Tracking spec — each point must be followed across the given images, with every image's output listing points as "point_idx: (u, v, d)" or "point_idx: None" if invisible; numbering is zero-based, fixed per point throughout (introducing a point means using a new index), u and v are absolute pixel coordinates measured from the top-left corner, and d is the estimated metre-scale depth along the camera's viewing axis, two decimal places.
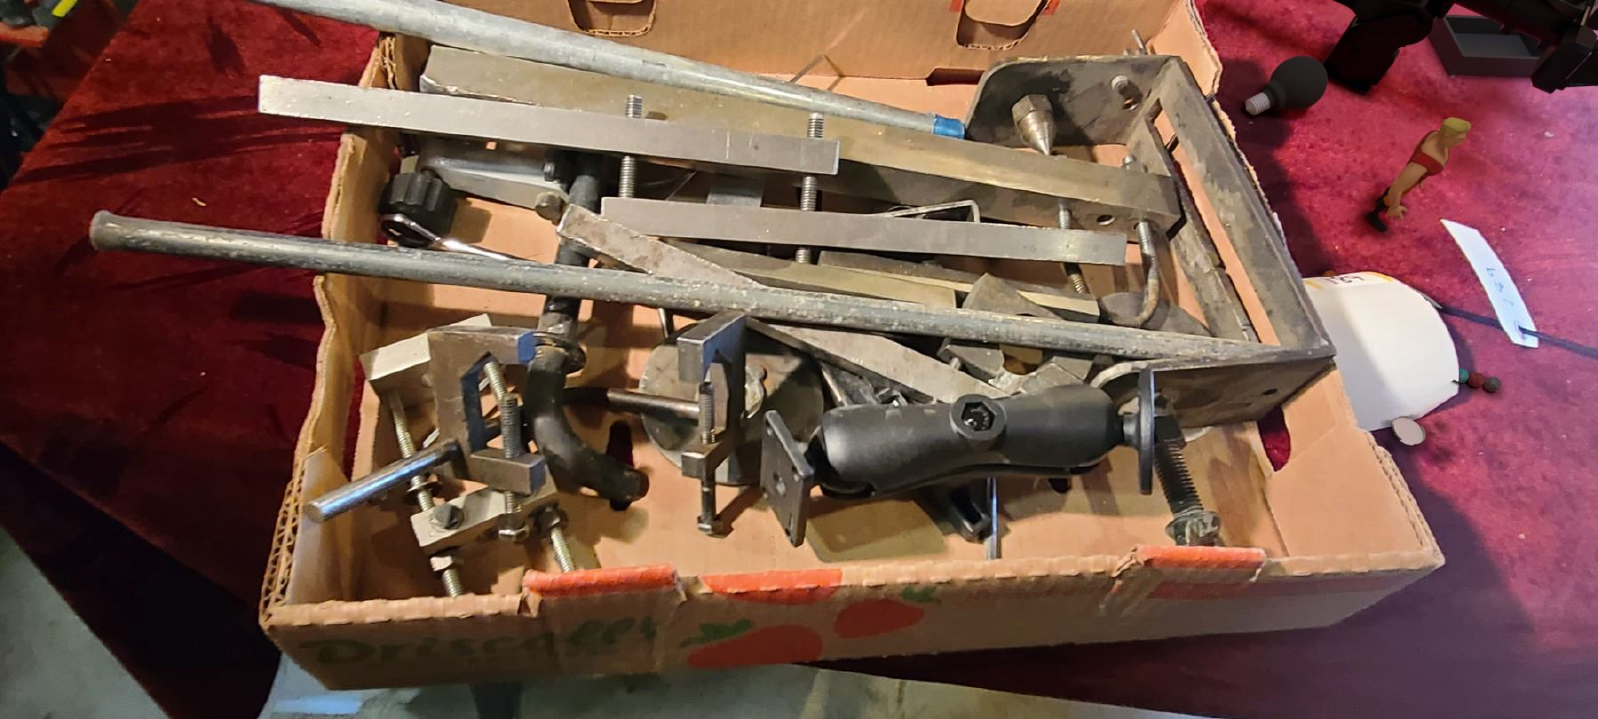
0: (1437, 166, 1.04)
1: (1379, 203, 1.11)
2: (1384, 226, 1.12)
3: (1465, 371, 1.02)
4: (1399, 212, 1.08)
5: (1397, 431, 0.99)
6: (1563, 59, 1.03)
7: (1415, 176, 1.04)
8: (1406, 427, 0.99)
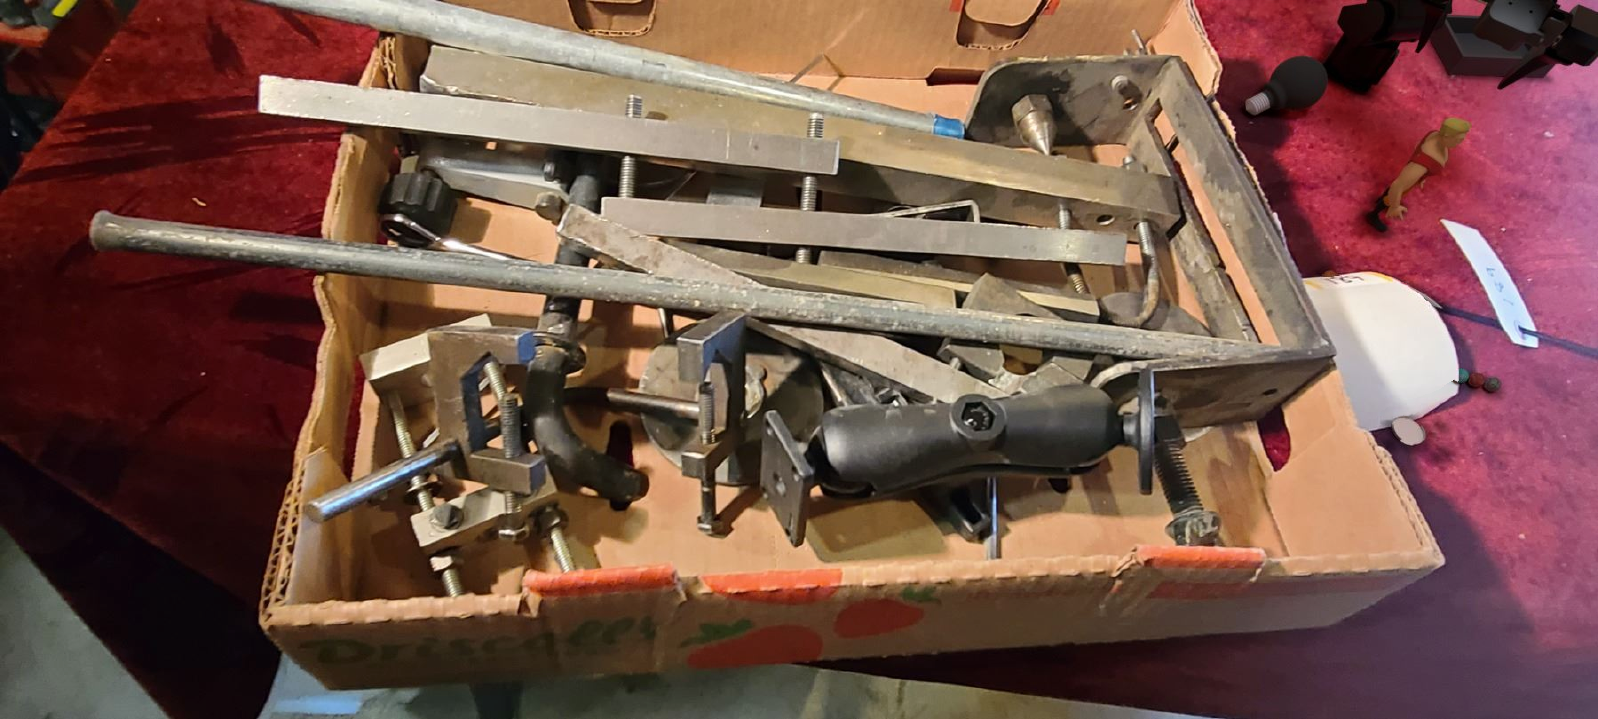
0: (1437, 166, 1.04)
1: (1379, 203, 1.11)
2: (1384, 226, 1.12)
3: (1465, 371, 1.02)
4: (1399, 212, 1.08)
5: (1397, 431, 0.99)
6: None
7: (1415, 176, 1.04)
8: (1406, 427, 0.99)
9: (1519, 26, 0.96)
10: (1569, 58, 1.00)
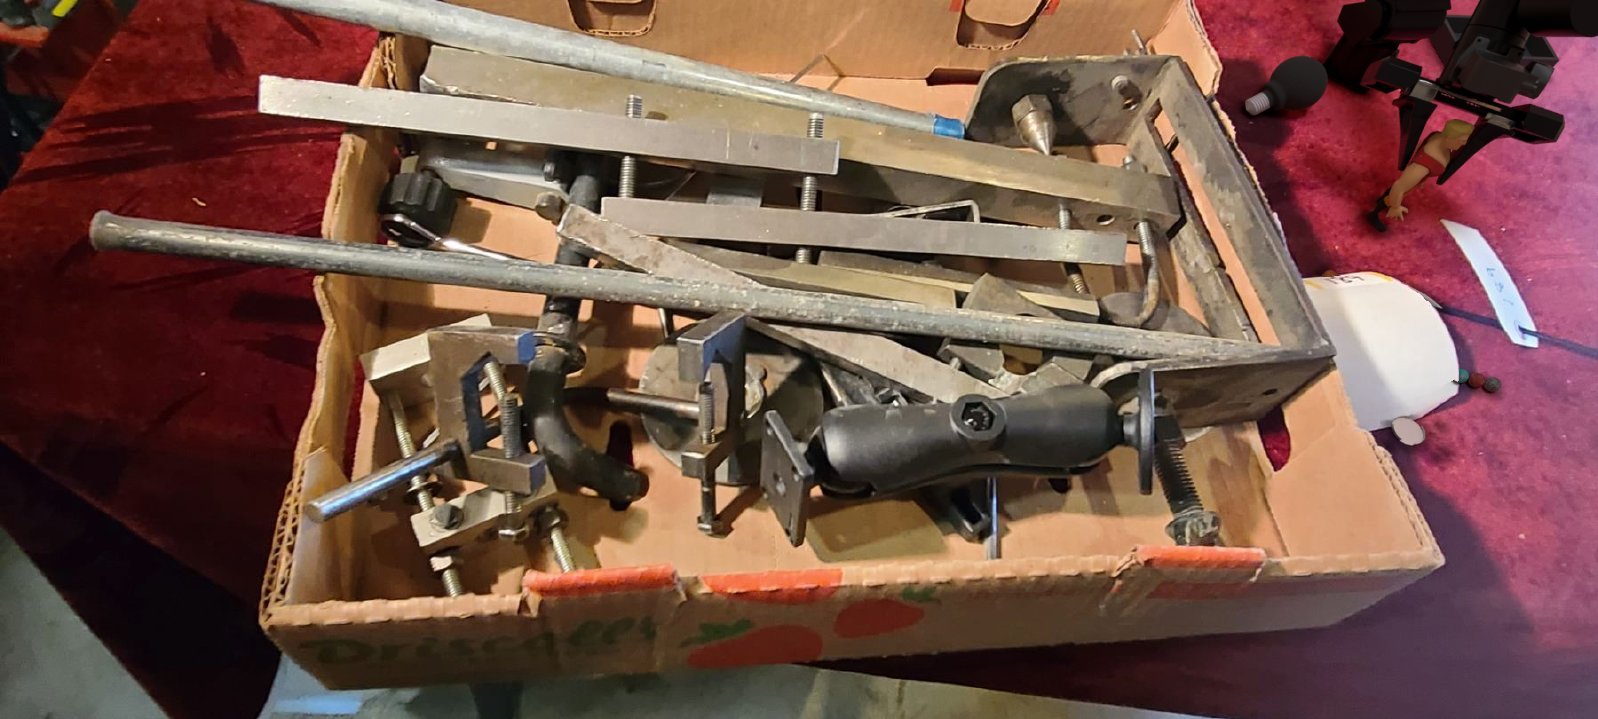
0: (1439, 167, 1.04)
1: (1380, 203, 1.11)
2: (1384, 226, 1.12)
3: (1465, 371, 1.02)
4: (1400, 212, 1.08)
5: (1397, 431, 0.99)
6: (1377, 66, 1.05)
7: (1417, 177, 1.04)
8: (1406, 427, 0.99)
9: (1515, 68, 0.96)
10: (1539, 132, 1.01)
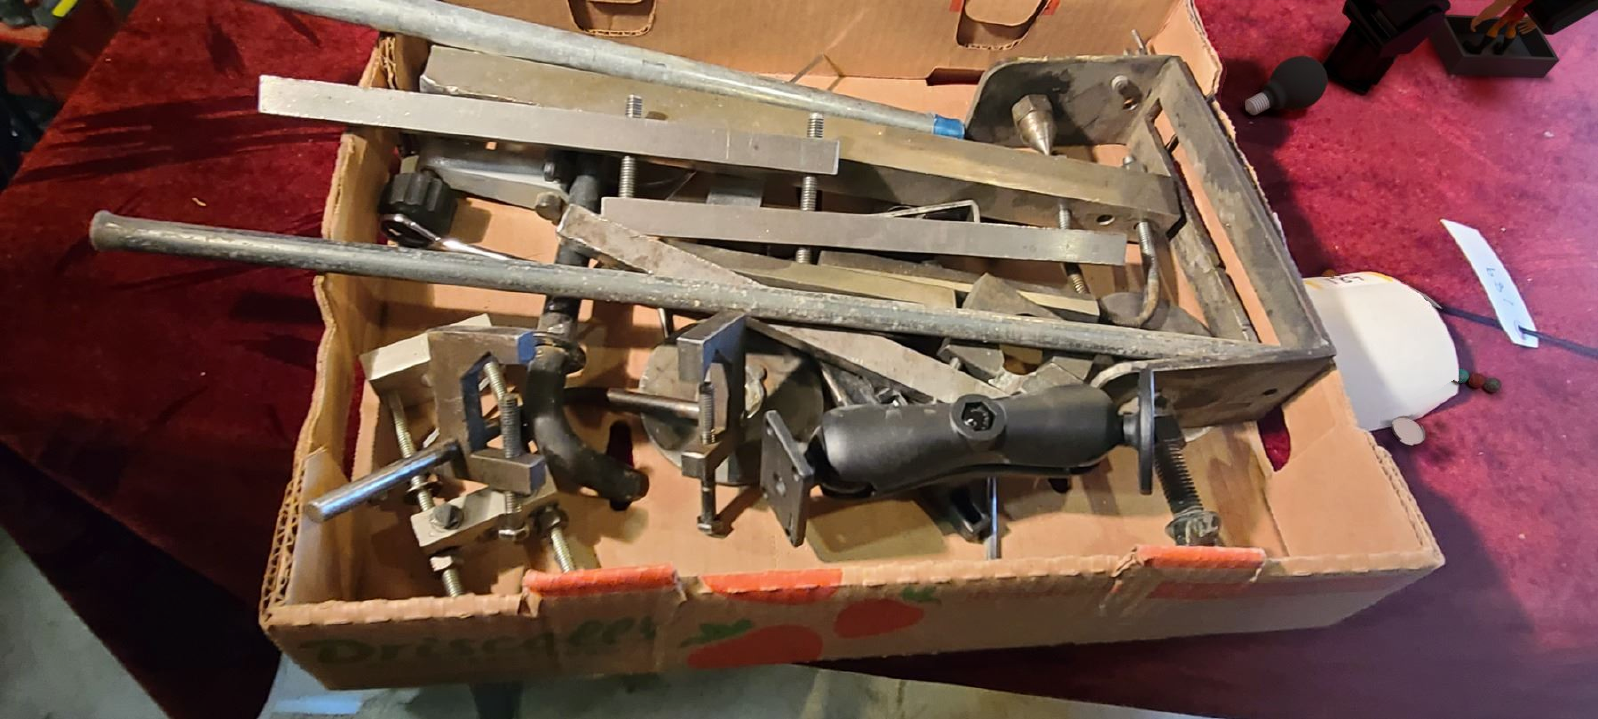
0: None
1: (1512, 41, 1.27)
2: (1500, 43, 1.30)
3: (1465, 371, 1.02)
4: None
5: (1397, 431, 0.99)
6: (1589, 7, 1.12)
7: None
8: (1406, 427, 0.99)
9: None
10: None
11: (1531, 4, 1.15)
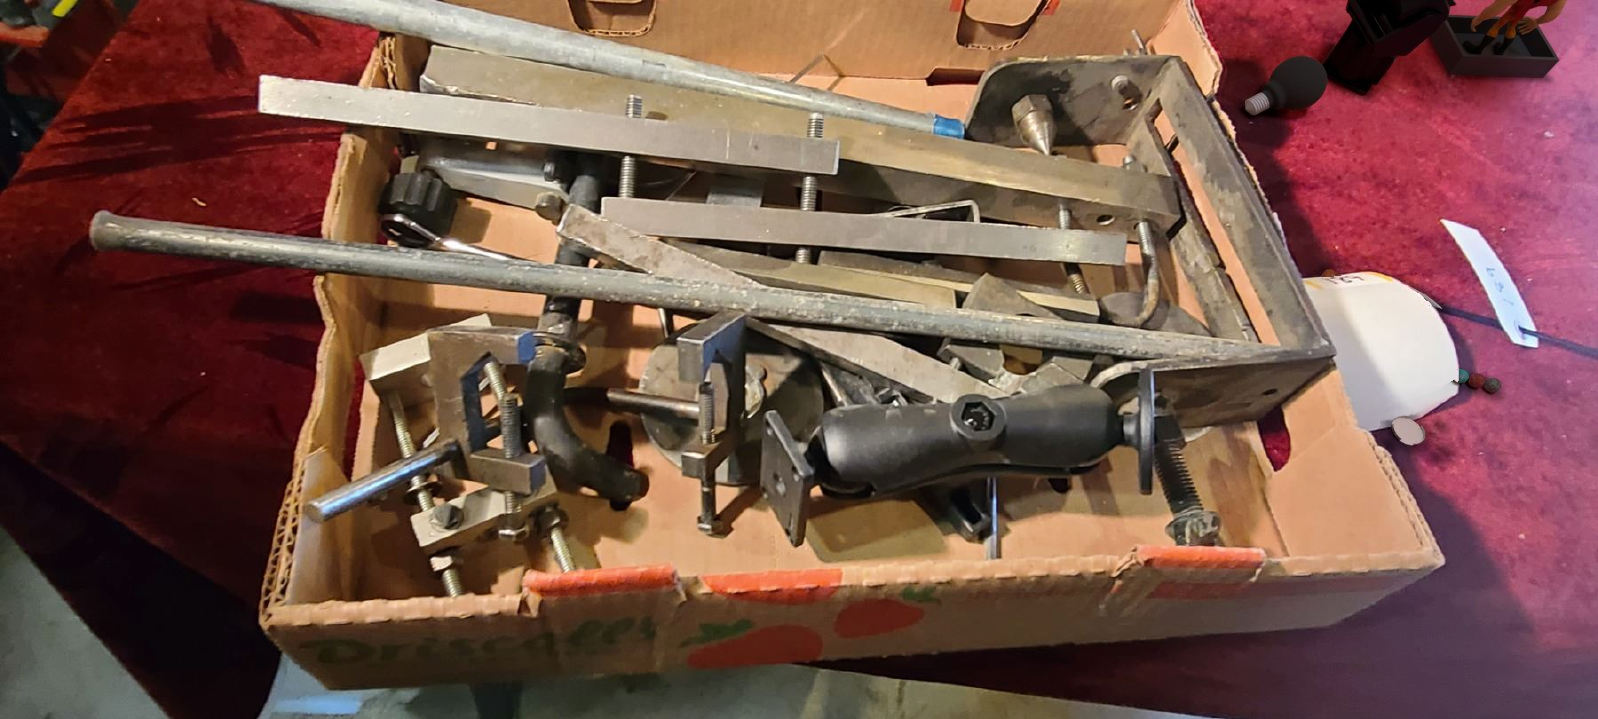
0: None
1: (1512, 41, 1.27)
2: (1500, 43, 1.30)
3: (1465, 372, 1.02)
4: None
5: (1397, 431, 0.99)
6: None
7: None
8: (1406, 427, 0.99)
9: None
10: None
11: None
